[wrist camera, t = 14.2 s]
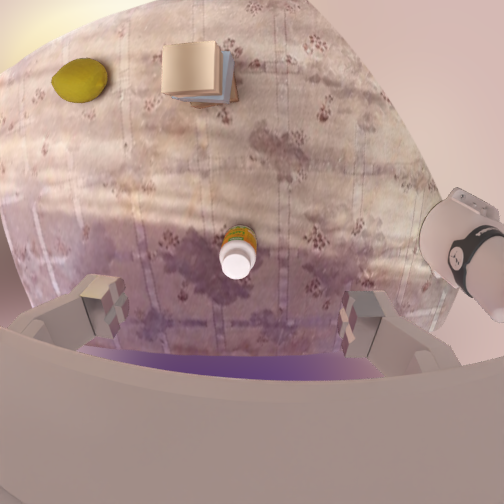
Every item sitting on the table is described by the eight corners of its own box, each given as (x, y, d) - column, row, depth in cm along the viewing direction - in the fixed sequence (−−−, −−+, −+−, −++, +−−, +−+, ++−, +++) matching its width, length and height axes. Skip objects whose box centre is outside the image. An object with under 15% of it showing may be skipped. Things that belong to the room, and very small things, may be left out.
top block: (234, 62, 31) (229, 51, 26) (229, 103, 34) (223, 100, 28) (190, 60, 31) (177, 50, 26) (184, 101, 34) (171, 98, 28)
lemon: (124, 68, 36) (101, 61, 29) (105, 110, 39) (80, 111, 32) (80, 55, 34) (54, 49, 27) (64, 94, 37) (36, 94, 30)
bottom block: (232, 65, 36) (228, 57, 31) (238, 101, 39) (235, 97, 33) (194, 73, 37) (184, 66, 31) (200, 108, 39) (191, 106, 34)
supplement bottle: (247, 218, 47) (243, 242, 38) (262, 245, 49) (262, 274, 40) (218, 233, 48) (209, 259, 39) (234, 258, 50) (229, 289, 41)
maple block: (223, 54, 26) (214, 40, 21) (222, 95, 28) (213, 89, 23) (179, 57, 26) (162, 46, 21) (178, 97, 28) (161, 93, 23)
